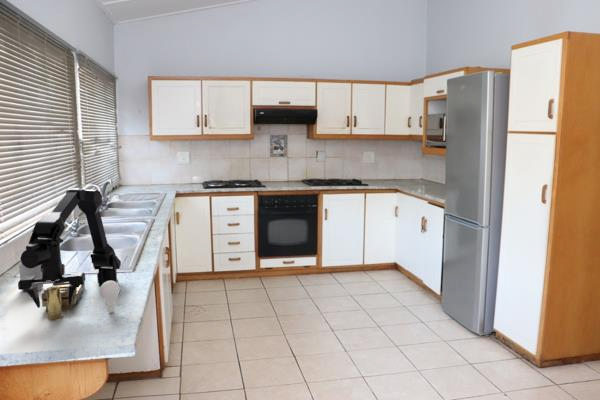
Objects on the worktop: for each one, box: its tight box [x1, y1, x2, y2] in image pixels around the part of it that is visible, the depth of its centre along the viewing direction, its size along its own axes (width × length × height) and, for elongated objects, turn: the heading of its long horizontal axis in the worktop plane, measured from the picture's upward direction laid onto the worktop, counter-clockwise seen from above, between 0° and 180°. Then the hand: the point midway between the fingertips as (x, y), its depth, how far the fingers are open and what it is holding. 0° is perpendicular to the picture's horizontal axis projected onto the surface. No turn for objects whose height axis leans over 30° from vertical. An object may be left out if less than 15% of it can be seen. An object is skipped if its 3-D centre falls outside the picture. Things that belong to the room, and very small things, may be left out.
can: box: [18, 259, 44, 292], centre depth 187 cm, size 8×8×12 cm
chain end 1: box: [40, 284, 82, 313], centre depth 174 cm, size 10×16×6 cm, turn 15°
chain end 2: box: [52, 280, 86, 305], centre depth 180 cm, size 10×16×4 cm, turn 15°
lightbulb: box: [99, 281, 121, 314], centre depth 165 cm, size 6×6×11 cm
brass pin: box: [45, 286, 63, 321], centre depth 161 cm, size 4×4×10 cm
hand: (54, 306), depth 161 cm, fingers open, 9 cm apart
